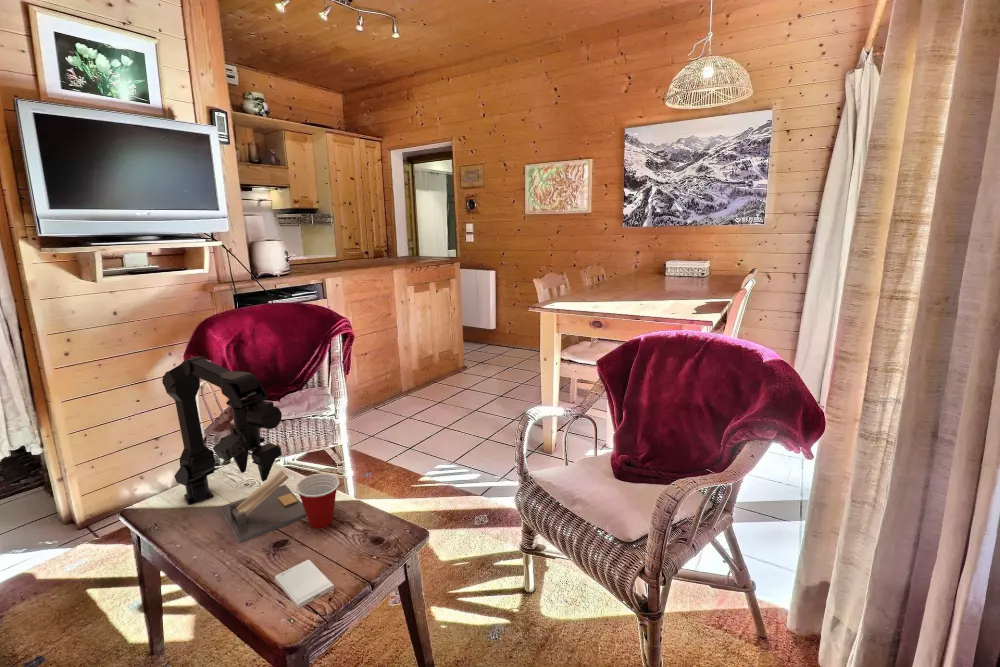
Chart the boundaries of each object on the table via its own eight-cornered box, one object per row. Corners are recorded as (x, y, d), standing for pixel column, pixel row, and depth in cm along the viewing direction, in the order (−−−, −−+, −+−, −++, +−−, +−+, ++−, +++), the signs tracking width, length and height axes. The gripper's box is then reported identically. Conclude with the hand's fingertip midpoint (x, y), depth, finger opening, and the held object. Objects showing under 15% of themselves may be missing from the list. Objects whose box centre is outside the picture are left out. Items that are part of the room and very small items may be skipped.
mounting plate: (219, 509, 142) (217, 496, 141) (285, 487, 153) (283, 474, 152) (239, 543, 127) (236, 528, 126) (310, 515, 138) (308, 501, 137)
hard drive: (274, 575, 113) (297, 604, 105) (309, 558, 119) (334, 583, 110) (275, 582, 114) (298, 610, 105) (310, 564, 119) (335, 590, 111)
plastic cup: (316, 541, 127) (312, 498, 124) (292, 526, 133) (287, 485, 131) (351, 520, 136) (347, 479, 133) (326, 507, 142) (322, 468, 139)
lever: (234, 515, 137) (230, 511, 136) (283, 471, 144) (279, 467, 143) (239, 523, 133) (235, 519, 133) (289, 478, 140) (285, 474, 140)
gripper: (195, 425, 129) (203, 480, 132) (238, 441, 119) (246, 500, 123) (236, 411, 138) (243, 463, 142) (279, 424, 129) (286, 480, 132)
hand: (253, 476), depth 134 cm, fingers open, 9 cm apart
